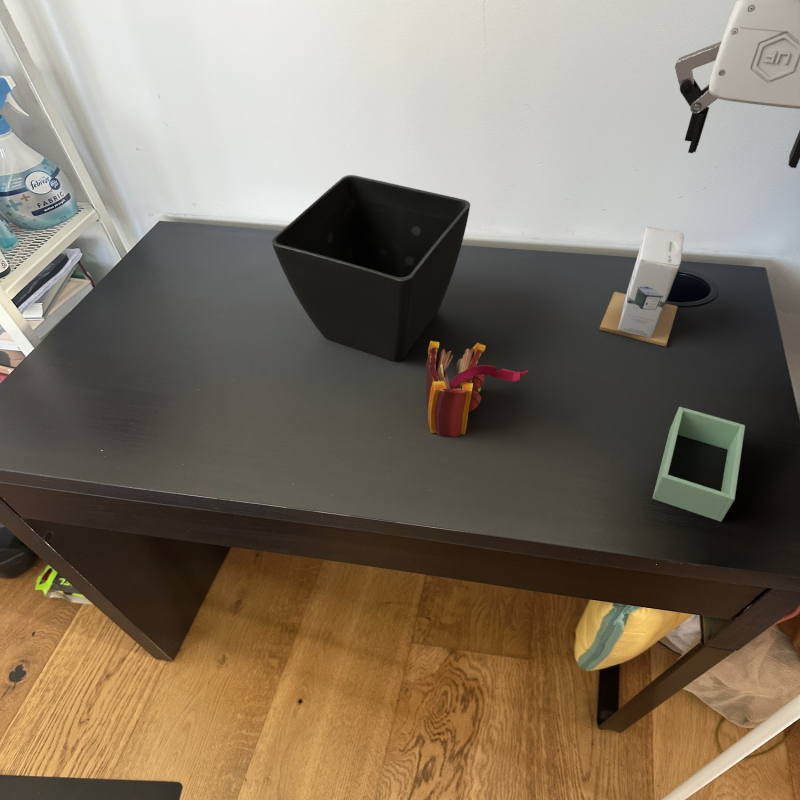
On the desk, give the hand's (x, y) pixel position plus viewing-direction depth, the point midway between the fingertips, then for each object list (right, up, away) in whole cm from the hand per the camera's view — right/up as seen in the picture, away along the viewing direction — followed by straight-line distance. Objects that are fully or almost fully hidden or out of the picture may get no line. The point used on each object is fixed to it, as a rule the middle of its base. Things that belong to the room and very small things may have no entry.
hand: (741, 155), depth 66 cm
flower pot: (-39, -15, +24) cm, 48 cm away
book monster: (-27, -28, +12) cm, 41 cm away
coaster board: (-2, -14, +23) cm, 27 cm away
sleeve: (-3, -34, +4) cm, 34 cm away
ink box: (-2, -14, +23) cm, 27 cm away
